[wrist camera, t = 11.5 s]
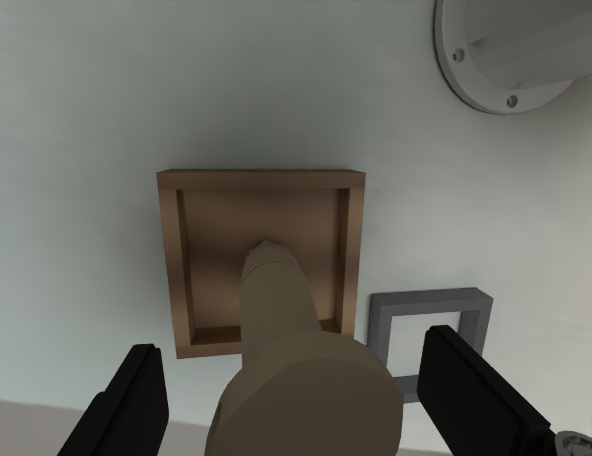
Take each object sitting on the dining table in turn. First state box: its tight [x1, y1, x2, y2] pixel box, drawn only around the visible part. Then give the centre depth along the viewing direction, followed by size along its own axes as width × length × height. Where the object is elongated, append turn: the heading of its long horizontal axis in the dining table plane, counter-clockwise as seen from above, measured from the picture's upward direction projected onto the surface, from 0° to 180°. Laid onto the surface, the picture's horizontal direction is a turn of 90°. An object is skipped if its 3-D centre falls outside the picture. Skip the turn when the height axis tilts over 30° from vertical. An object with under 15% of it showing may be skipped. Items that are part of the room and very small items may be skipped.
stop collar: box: [367, 288, 493, 404], centre depth 26 cm, size 10×10×2 cm
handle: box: [204, 239, 404, 456], centre depth 15 cm, size 5×6×15 cm
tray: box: [156, 169, 366, 359], centre depth 21 cm, size 13×13×3 cm
